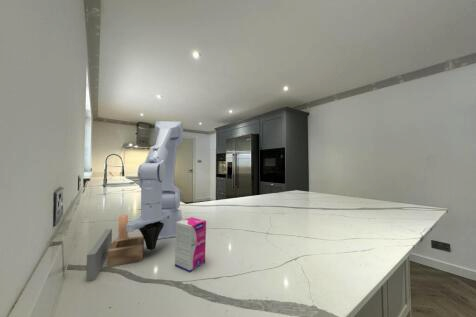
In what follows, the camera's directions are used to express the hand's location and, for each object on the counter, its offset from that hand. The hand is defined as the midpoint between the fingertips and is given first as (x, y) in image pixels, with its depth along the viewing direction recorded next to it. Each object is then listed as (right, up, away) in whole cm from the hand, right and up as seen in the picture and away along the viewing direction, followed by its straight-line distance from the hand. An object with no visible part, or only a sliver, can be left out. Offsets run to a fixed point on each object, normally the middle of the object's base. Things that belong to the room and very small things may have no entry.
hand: (151, 248), depth 56 cm
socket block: (-6, -1, -2) cm, 6 cm away
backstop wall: (-11, -1, -5) cm, 12 cm away
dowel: (-15, -2, +11) cm, 19 cm away
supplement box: (+13, -2, -6) cm, 15 cm away
